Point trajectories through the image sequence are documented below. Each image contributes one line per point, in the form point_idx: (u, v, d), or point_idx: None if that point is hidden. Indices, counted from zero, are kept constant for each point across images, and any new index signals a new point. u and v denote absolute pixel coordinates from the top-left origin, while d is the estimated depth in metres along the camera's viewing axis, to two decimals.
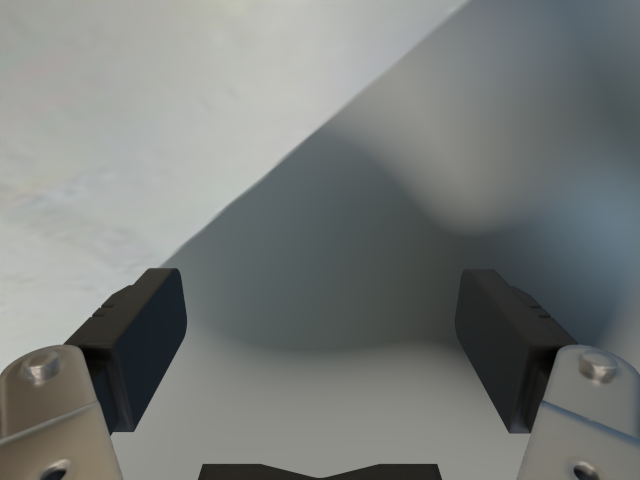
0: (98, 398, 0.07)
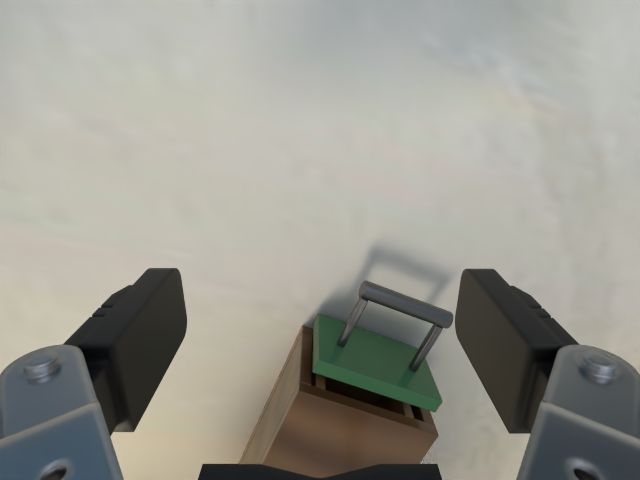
0: (98, 398, 0.07)
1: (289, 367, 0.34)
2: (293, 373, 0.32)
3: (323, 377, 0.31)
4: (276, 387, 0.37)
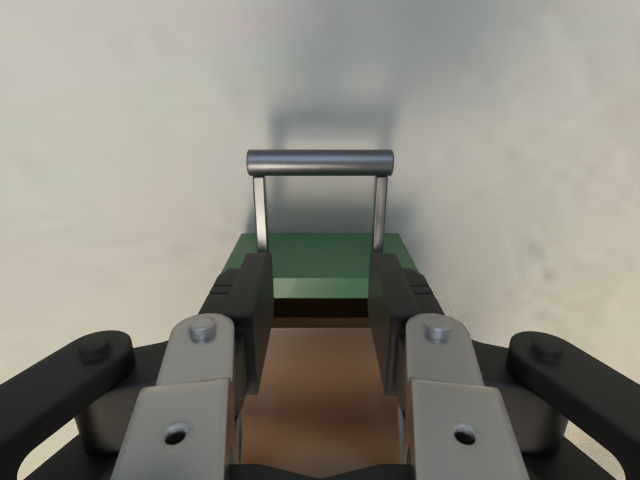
0: (241, 361, 0.08)
1: None
2: None
3: None
4: None
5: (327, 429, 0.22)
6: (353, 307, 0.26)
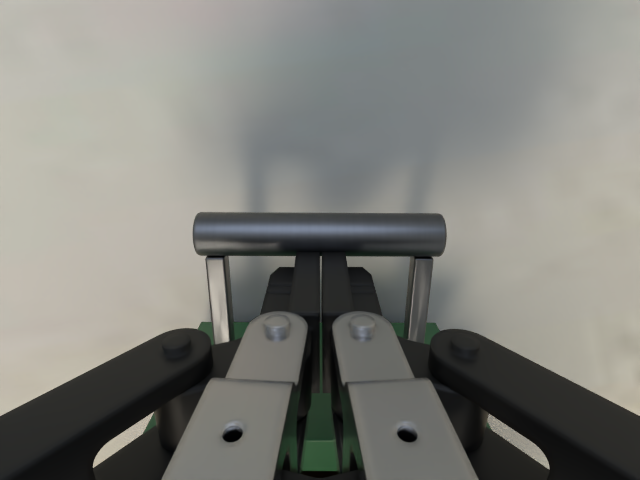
0: (311, 359, 0.08)
1: None
2: None
3: None
4: None
5: None
6: None
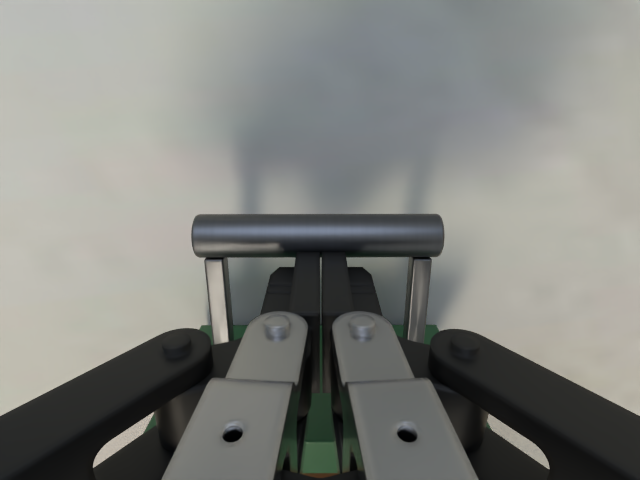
0: (311, 359, 0.08)
1: None
2: None
3: None
4: None
5: None
6: None
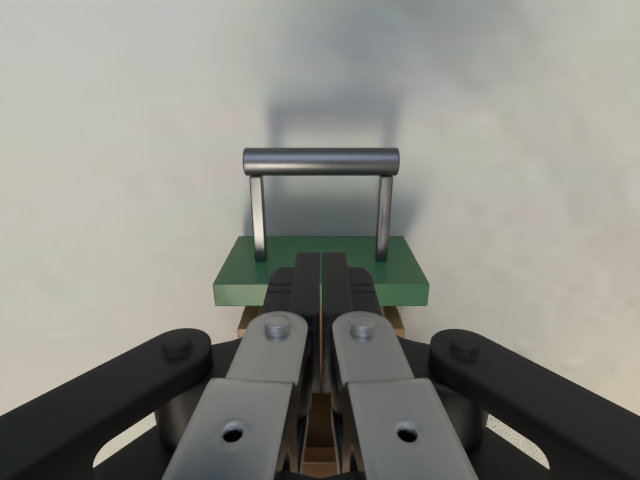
0: (311, 359, 0.08)
1: None
2: None
3: (254, 313, 0.21)
4: None
5: None
6: None
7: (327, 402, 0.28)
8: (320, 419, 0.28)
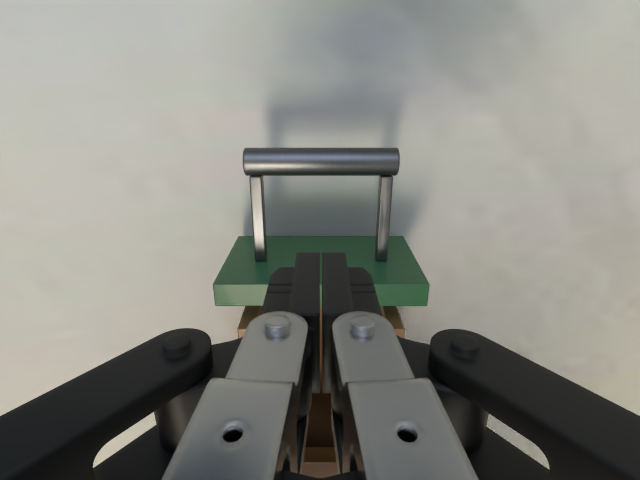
0: (311, 359, 0.08)
1: None
2: None
3: (254, 313, 0.21)
4: None
5: None
6: None
7: (327, 402, 0.28)
8: (320, 419, 0.28)
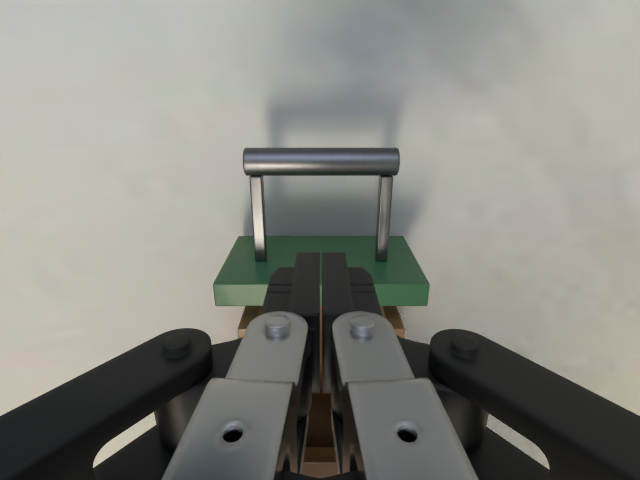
0: (311, 359, 0.08)
1: None
2: None
3: (254, 313, 0.21)
4: None
5: None
6: None
7: (327, 402, 0.28)
8: (320, 419, 0.28)
